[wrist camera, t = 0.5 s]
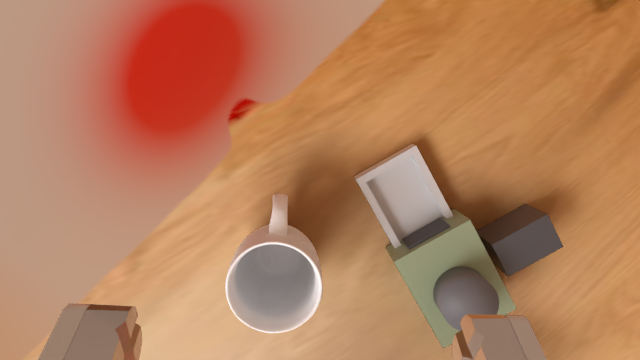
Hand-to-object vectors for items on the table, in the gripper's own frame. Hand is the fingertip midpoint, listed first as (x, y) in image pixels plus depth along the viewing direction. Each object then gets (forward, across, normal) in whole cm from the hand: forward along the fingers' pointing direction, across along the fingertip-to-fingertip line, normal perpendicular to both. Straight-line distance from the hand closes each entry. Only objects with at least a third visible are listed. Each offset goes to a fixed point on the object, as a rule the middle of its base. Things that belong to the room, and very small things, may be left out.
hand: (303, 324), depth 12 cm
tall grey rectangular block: (+40, +32, -33) cm, 61 cm away
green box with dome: (+40, +20, -34) cm, 56 cm away
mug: (+40, 0, -36) cm, 54 cm away
